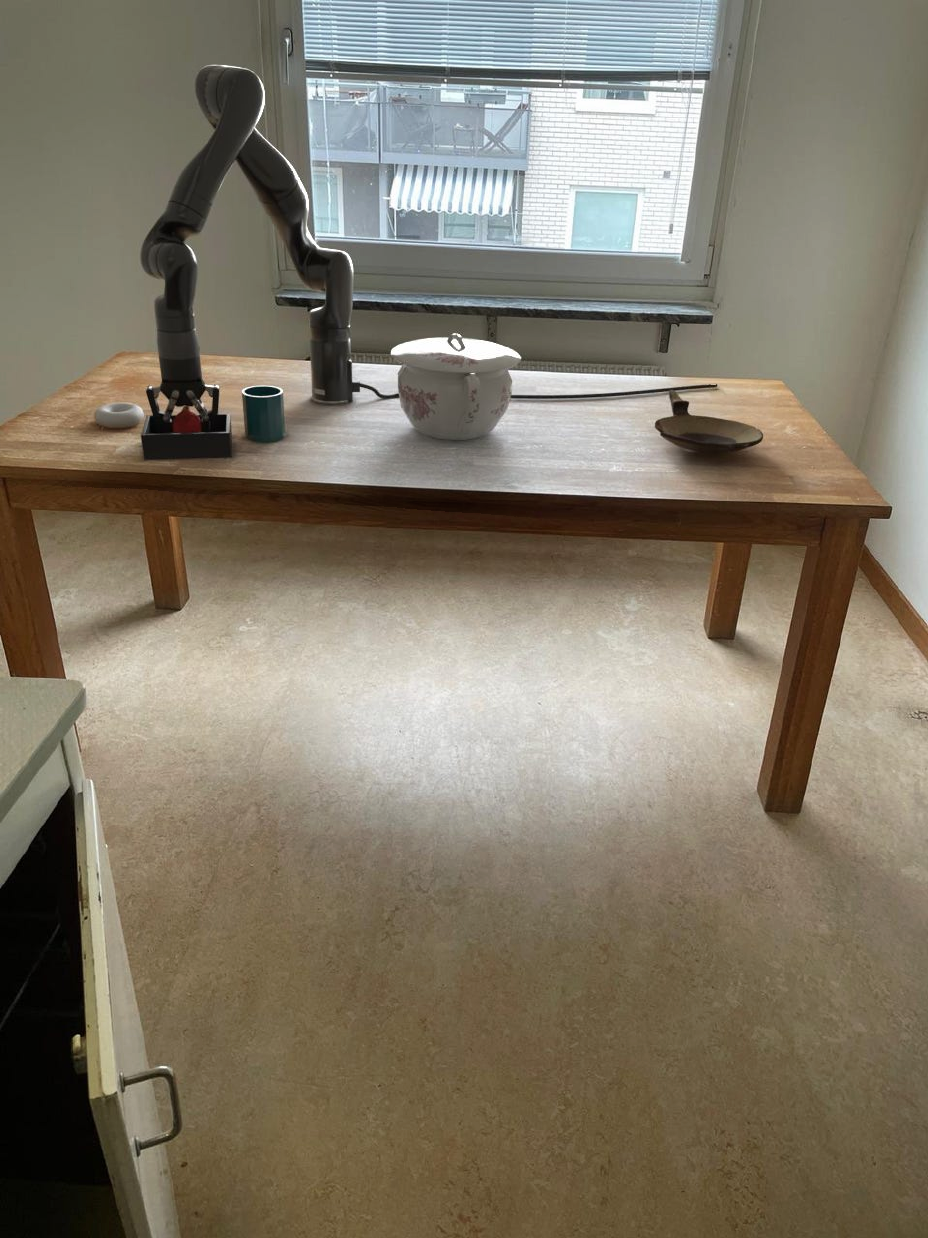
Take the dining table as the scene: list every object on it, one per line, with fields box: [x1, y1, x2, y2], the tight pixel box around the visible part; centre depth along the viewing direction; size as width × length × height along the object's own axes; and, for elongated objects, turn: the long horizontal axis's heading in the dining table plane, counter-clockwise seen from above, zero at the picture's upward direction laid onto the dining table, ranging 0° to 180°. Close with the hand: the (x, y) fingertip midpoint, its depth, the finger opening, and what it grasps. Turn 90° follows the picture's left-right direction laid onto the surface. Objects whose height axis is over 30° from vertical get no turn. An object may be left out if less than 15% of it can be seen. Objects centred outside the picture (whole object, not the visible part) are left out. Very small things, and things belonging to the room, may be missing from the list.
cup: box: [241, 385, 286, 444], centre depth 185 cm, size 8×8×10 cm
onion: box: [172, 406, 203, 433], centre depth 177 cm, size 6×6×8 cm
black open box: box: [140, 413, 233, 461], centre depth 178 cm, size 16×12×5 cm
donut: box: [93, 402, 145, 429], centre depth 189 cm, size 10×3×10 cm
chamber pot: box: [390, 332, 522, 441], centre depth 190 cm, size 28×28×21 cm
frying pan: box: [654, 390, 764, 454], centre depth 192 cm, size 22×30×8 cm
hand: (188, 437), depth 178 cm, fingers closed on onion, 6 cm apart
